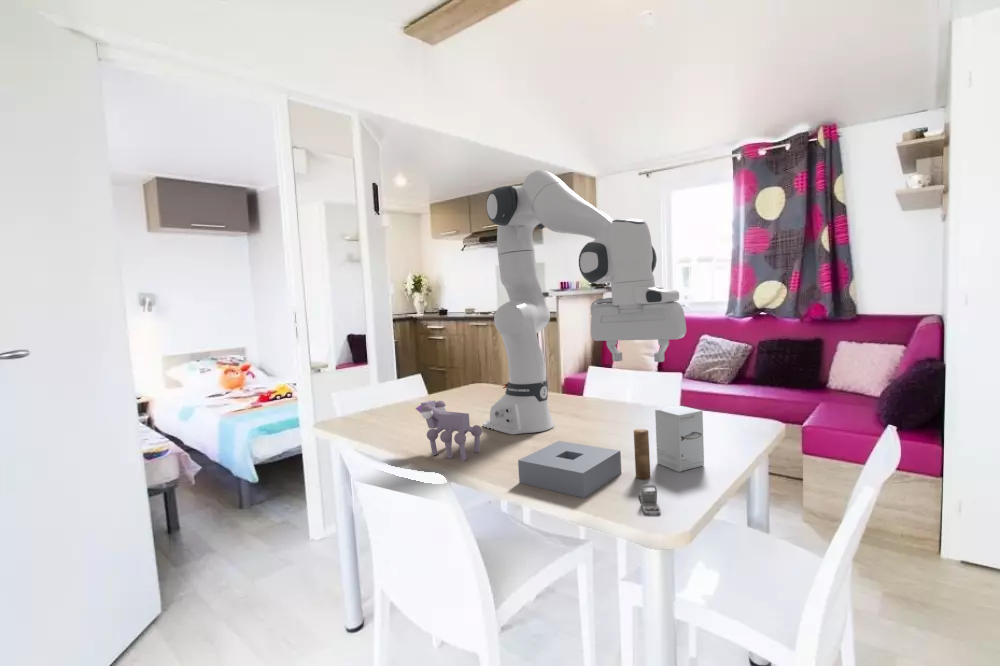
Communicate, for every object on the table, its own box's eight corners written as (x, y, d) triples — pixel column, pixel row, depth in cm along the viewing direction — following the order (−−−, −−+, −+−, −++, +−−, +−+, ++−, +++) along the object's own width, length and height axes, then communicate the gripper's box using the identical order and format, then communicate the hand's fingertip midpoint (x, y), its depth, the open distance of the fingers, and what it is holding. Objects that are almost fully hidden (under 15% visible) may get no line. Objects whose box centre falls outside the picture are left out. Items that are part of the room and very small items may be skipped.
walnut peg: (633, 477, 107) (631, 431, 106) (639, 473, 109) (637, 428, 108) (646, 480, 105) (644, 433, 104) (652, 476, 107) (650, 430, 106)
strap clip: (662, 517, 89) (661, 493, 88) (644, 517, 89) (643, 493, 89) (653, 497, 97) (653, 476, 97) (637, 497, 97) (637, 476, 97)
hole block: (519, 482, 108) (517, 460, 108) (559, 461, 120) (558, 440, 120) (584, 498, 98) (582, 473, 98) (621, 472, 110) (620, 450, 110)
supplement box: (679, 473, 108) (677, 415, 107) (656, 463, 115) (653, 409, 114) (705, 466, 111) (703, 410, 110) (681, 457, 118) (679, 404, 117)
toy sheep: (403, 453, 135) (401, 402, 135) (430, 444, 144) (428, 396, 144) (461, 463, 124) (459, 408, 123) (486, 452, 133) (485, 401, 132)
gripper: (582, 300, 110) (587, 362, 110) (674, 292, 96) (679, 364, 97) (597, 298, 114) (601, 358, 115) (686, 291, 101) (691, 359, 102)
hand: (638, 361), depth 106 cm, fingers open, 8 cm apart
